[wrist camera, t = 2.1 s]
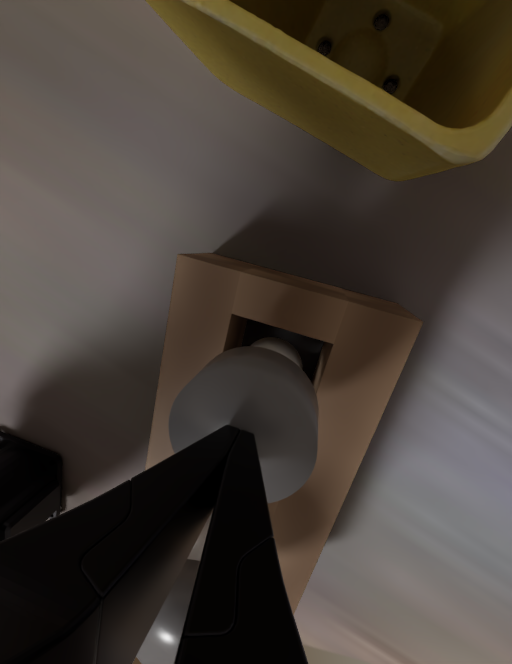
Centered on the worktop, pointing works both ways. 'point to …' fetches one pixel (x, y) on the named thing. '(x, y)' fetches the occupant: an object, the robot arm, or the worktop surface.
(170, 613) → the knob
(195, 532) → the robot arm
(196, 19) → the flower pot
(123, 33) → the worktop surface
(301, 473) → the knob
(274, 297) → the mount
